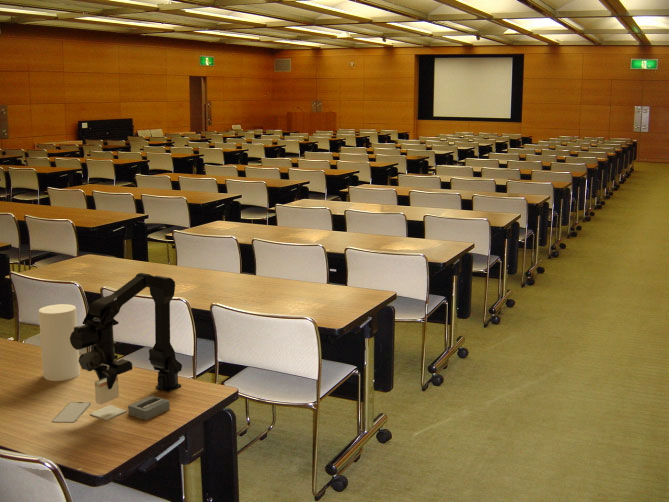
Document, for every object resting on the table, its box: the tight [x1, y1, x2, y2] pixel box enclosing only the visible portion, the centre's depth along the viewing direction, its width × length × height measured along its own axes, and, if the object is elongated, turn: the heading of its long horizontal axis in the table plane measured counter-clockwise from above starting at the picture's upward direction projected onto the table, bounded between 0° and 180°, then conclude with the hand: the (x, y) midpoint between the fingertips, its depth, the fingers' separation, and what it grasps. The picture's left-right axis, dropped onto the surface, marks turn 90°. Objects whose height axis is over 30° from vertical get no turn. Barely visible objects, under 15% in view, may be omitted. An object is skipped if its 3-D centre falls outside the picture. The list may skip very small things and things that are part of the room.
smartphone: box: [51, 401, 92, 424], centre depth 224 cm, size 7×1×15 cm
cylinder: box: [38, 303, 81, 382], centre depth 254 cm, size 12×12×25 cm
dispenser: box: [127, 394, 171, 421], centre depth 224 cm, size 10×8×3 cm
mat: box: [89, 404, 128, 422], centre depth 223 cm, size 8×8×1 cm
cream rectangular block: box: [94, 376, 120, 405], centre depth 222 cm, size 7×2×7 cm, turn 147°
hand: (107, 388), depth 222 cm, fingers closed on cream rectangular block, 2 cm apart
